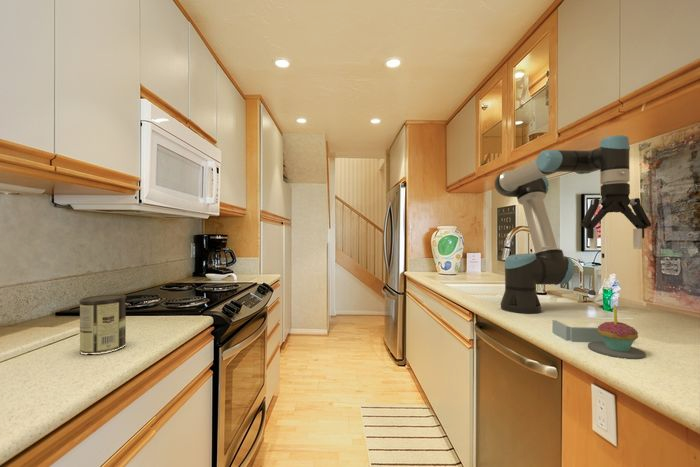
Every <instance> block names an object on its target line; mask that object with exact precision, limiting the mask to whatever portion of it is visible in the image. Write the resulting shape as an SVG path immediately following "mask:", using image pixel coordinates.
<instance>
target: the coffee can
mask: <svg viewBox="0 0 700 467" xmlns="http://www.w3.org/2000/svg"><path fill="white" fill-rule="evenodd" d="M126 300H127V294H126V295H125V294H120V293H119V294H118V293H117V294H116V293H115V294H114V293H113V294H111V293H110V294H100V295H93V296H88V297H87V296H86V297H83V298H80V299H79V353H80V352H82V353H88V354H91V353H101V352H107V351H112V350H115V349H118V348H120V347H123V346H124V345H125V344H126V340H127V339H126V331H127V330H126V329H127V328H126V327H127V326H126V325H127V324H126V316H127V315H126V312H127V311H126V309H127V308H126V307H127V306H126V302H127V301H126ZM126 345H127V344H126Z"/></svg>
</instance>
